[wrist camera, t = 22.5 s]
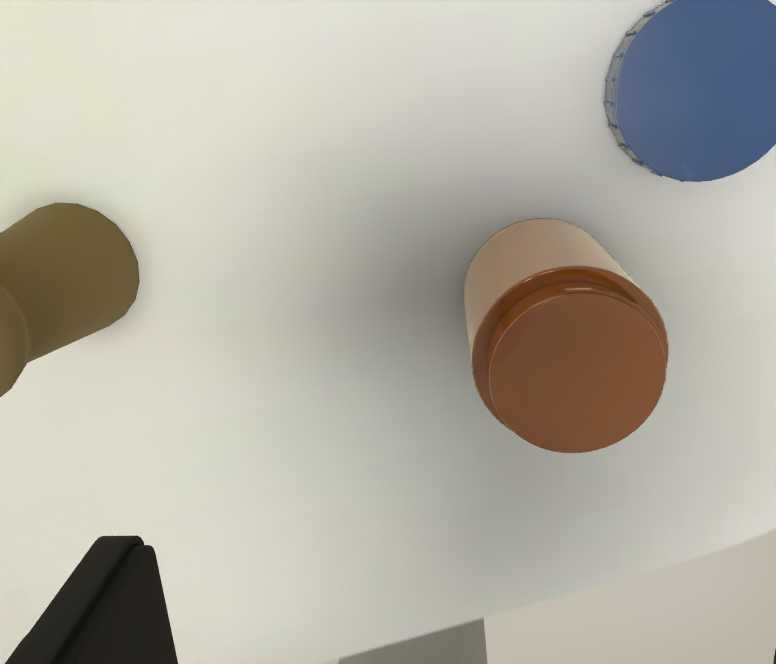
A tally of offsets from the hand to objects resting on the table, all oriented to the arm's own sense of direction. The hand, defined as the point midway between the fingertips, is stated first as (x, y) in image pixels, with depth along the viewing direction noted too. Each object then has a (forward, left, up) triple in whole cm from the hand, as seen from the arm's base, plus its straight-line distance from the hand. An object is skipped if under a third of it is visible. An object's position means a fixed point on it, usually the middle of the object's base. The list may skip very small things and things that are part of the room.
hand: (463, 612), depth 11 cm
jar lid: (+6, -10, -21) cm, 24 cm away
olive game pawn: (0, +17, -22) cm, 28 cm away
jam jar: (-2, -4, -22) cm, 23 cm away
